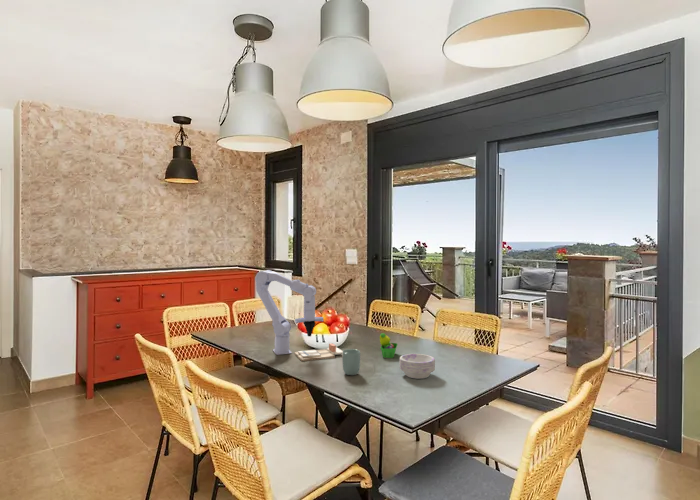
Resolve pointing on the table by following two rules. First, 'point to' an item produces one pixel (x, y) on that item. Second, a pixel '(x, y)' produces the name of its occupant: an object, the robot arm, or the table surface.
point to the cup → (351, 361)
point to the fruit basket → (387, 346)
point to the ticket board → (314, 355)
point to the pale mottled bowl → (417, 365)
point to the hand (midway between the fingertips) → (309, 335)
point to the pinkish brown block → (334, 349)
